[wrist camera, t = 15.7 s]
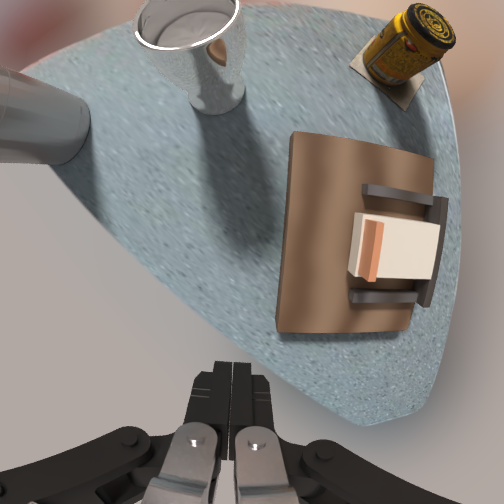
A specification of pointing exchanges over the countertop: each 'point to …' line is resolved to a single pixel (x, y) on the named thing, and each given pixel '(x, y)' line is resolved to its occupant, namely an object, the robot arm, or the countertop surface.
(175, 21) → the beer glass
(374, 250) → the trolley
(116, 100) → the countertop surface
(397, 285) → the dock
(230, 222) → the countertop surface
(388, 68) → the condiment
